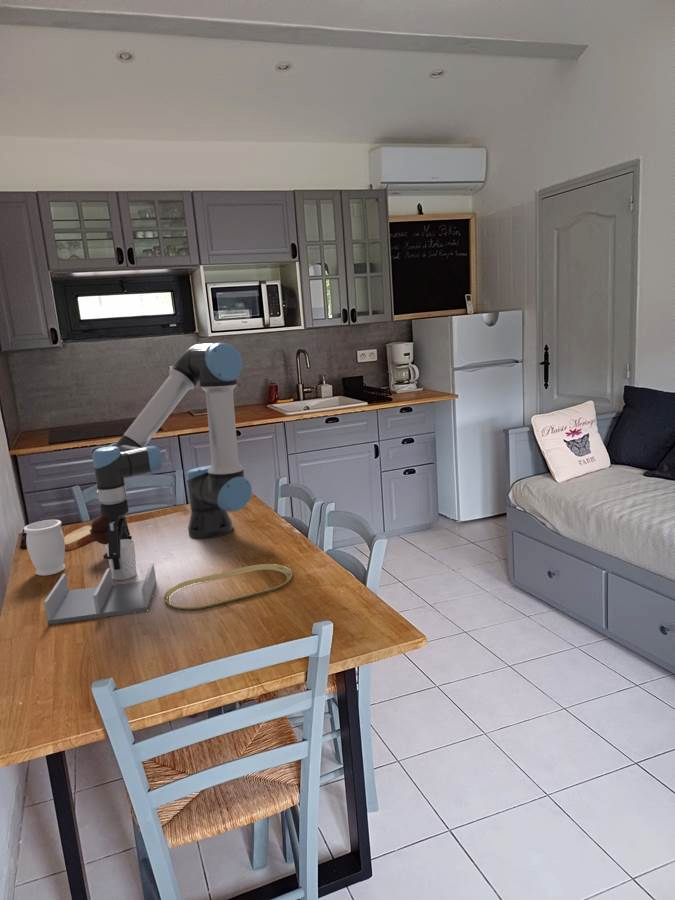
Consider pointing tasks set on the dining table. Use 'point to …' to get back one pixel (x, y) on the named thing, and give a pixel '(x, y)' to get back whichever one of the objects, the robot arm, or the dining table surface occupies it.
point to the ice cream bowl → (100, 531)
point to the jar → (46, 546)
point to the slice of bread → (78, 538)
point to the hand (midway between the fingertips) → (123, 570)
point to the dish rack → (99, 599)
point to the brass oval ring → (228, 574)
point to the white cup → (125, 558)
